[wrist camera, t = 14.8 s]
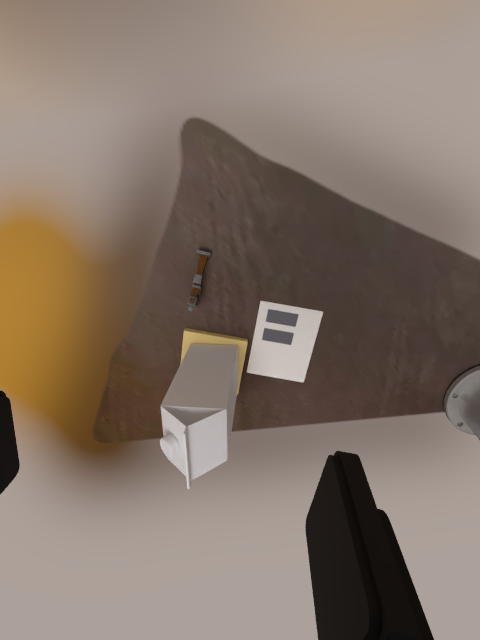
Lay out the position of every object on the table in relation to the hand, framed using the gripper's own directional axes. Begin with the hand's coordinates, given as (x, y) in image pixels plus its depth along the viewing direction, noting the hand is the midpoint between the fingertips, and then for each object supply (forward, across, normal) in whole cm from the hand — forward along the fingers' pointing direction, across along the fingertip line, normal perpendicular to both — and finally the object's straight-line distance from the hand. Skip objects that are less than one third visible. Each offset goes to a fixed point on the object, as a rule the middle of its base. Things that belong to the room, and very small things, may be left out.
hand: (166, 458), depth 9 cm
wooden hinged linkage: (+37, +5, +5) cm, 37 cm away
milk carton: (+36, +2, +18) cm, 40 cm away
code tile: (+36, -8, +13) cm, 39 cm away
